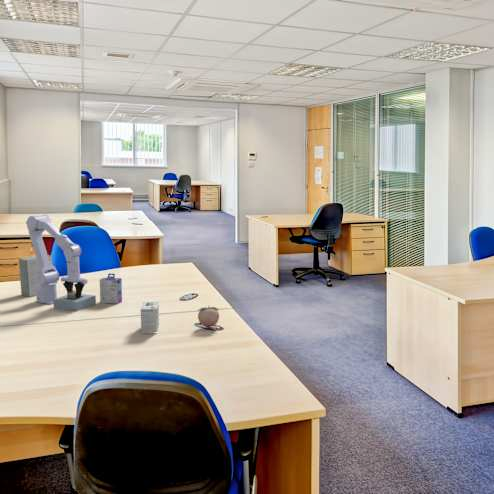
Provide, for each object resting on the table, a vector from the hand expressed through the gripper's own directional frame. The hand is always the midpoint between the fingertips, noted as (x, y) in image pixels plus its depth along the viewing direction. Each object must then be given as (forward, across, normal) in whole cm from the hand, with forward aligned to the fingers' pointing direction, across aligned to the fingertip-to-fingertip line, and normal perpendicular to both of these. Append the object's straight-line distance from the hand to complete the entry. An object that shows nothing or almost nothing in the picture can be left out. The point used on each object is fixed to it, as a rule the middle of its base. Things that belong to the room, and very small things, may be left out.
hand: (74, 296), depth 255 cm
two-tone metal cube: (+4, 0, 0) cm, 4 cm away
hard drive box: (+5, -35, +12) cm, 37 cm away
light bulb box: (+5, +54, -17) cm, 57 cm away
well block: (+5, 0, 0) cm, 5 cm away
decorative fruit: (+5, +76, -5) cm, 76 cm away
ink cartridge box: (+5, +12, +13) cm, 18 cm away
